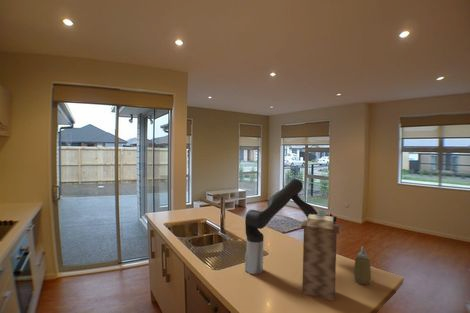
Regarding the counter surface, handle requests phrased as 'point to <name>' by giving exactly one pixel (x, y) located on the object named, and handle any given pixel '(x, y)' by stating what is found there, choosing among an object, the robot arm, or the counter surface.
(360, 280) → the squeeze bottle
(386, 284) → the counter surface
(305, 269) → the stand
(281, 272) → the counter surface
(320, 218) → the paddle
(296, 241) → the counter surface
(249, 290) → the counter surface
